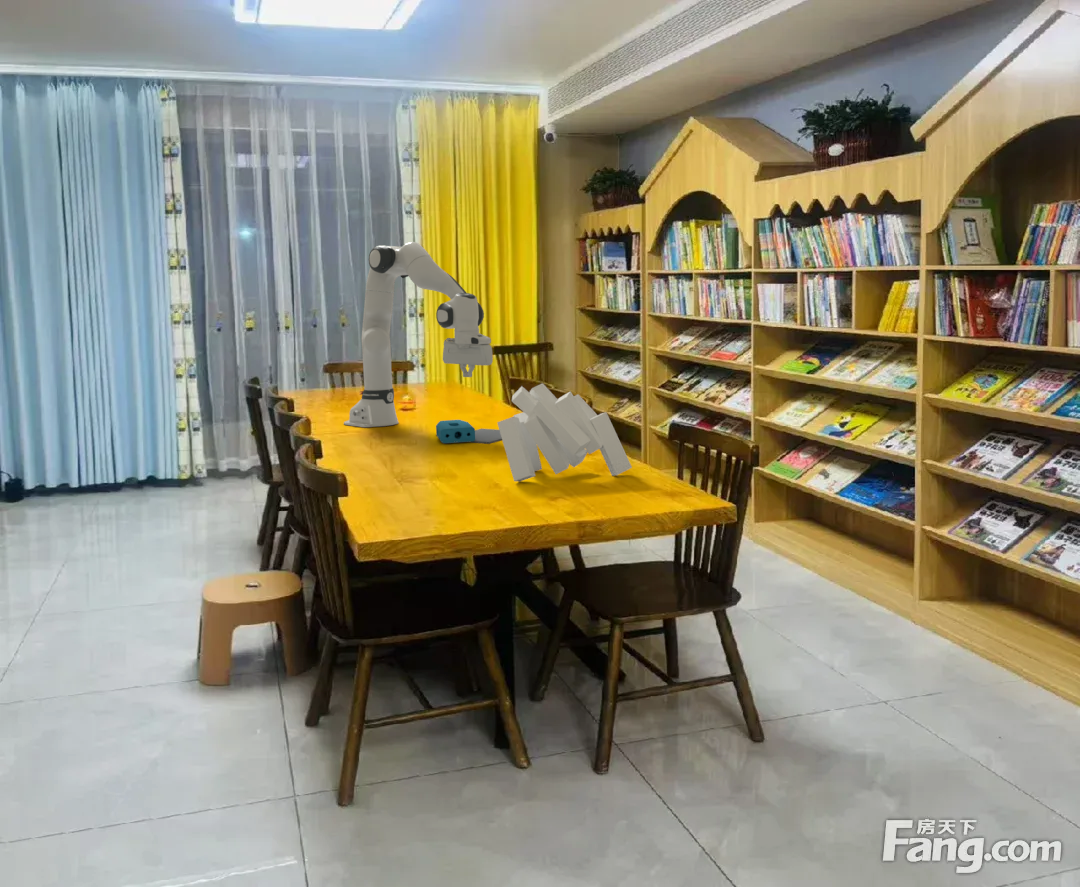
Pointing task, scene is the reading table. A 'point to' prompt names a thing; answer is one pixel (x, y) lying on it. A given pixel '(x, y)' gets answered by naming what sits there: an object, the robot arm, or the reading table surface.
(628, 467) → the pile of blocks
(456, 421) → the block
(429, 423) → the reading table surface
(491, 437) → the mat
